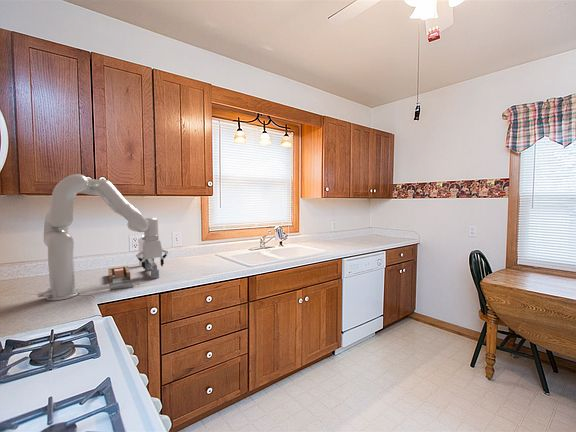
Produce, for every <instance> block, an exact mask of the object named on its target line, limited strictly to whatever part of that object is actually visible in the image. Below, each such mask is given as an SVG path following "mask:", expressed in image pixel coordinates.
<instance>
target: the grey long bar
mask: <svg viewBox="0 0 576 432" xmlns="http://www.w3.org/2000/svg"><path fill="white" fill-rule="evenodd" d="M144 262H145V269H144V271H145V272H149V271H150V279H151V280H154V279H159V278H160V270H159V269H158V265H157V264H156V263H155V258H150V259H145V261H144Z"/></svg>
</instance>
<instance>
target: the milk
mask: <svg viewBox="0 0 576 432" xmlns="http://www.w3.org/2000/svg"><path fill="white" fill-rule="evenodd" d="M142 237H144V234H141V237H139V238H138V239H137V242H138V244H137V245H138V253H140V252H142V251H143V242H144V241H145V240H142ZM139 257H140V258H141V259H142V258H143V254H142V255H140V256H139ZM138 264H139V266H138V267H139V268H140V267H141V268H143V267H142V262H141V261H140V260H138Z"/></svg>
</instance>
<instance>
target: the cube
mask: <svg viewBox="0 0 576 432" xmlns="http://www.w3.org/2000/svg"><path fill="white" fill-rule="evenodd" d="M114 275H115V279H116V278H123V277H124V271H123V268H121V269H114Z"/></svg>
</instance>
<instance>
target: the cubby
mask: <svg viewBox="0 0 576 432" xmlns="http://www.w3.org/2000/svg"><path fill="white" fill-rule="evenodd" d="M121 268H123V271H124V277H123V278H116V279H115V275H114V269H121ZM107 269H108V280H109V288H110V289H109V290H110V292H113V290H114V291H118V290H119V289H120V290H126V289H131V288H134V287H133V282H132V281H131V271H130V269H129V266H119V267H112V268H107ZM125 288H126V289H125Z"/></svg>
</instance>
